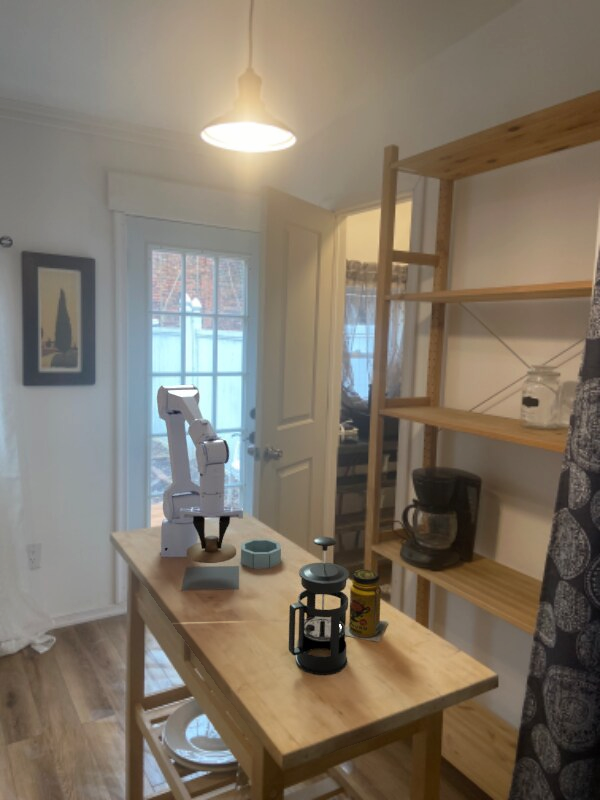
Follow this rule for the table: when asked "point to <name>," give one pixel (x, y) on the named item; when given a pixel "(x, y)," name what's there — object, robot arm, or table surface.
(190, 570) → the mat
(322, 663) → the french press
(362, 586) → the condiment
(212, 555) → the lid
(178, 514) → the robot arm
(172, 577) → the table surface
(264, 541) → the bowl
